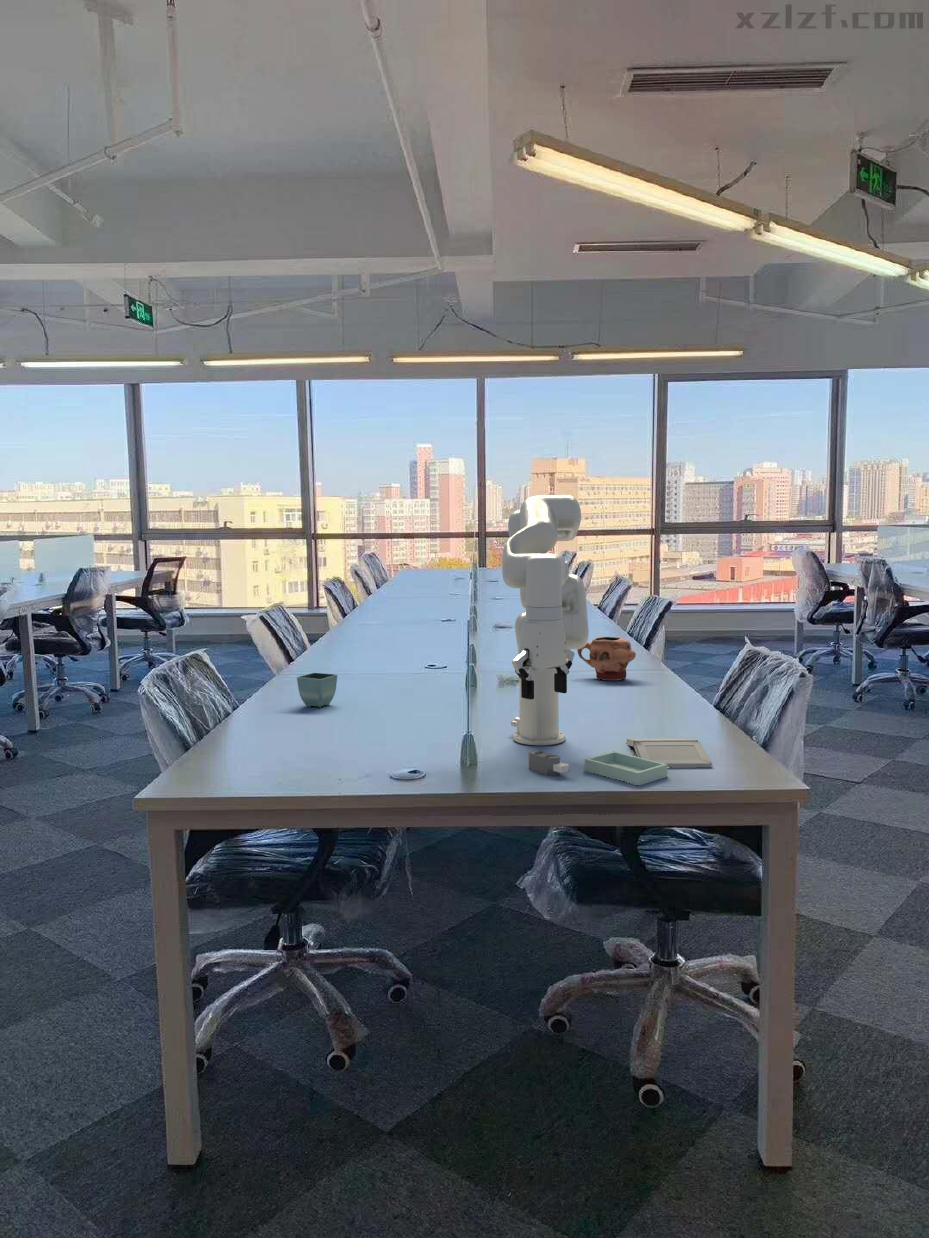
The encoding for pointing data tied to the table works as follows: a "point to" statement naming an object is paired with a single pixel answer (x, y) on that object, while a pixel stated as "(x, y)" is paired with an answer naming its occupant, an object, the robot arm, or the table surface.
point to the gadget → (672, 752)
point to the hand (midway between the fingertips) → (544, 695)
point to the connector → (546, 763)
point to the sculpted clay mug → (609, 657)
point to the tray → (626, 768)
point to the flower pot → (317, 688)
